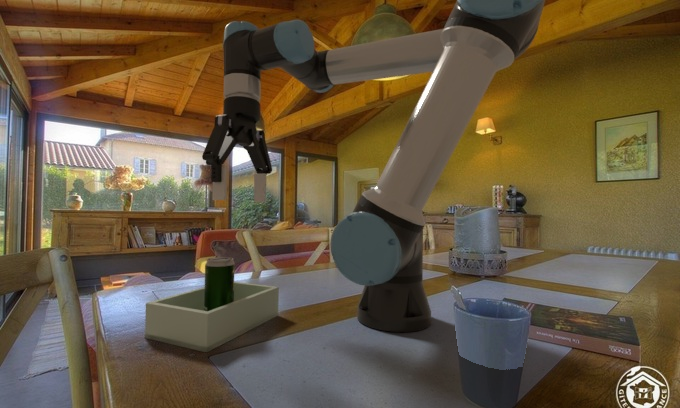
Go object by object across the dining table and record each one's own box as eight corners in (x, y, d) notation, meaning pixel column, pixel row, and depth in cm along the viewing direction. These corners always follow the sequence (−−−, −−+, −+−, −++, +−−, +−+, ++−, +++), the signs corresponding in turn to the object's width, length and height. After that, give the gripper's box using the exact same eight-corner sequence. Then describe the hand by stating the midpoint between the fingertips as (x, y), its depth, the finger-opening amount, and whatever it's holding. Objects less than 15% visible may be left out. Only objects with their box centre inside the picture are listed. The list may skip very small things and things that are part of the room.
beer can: (210, 328, 59) (212, 262, 60) (199, 320, 63) (200, 258, 63) (238, 321, 63) (239, 259, 63) (225, 314, 67) (227, 256, 67)
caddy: (278, 315, 70) (278, 287, 70) (206, 352, 51) (207, 314, 51) (226, 307, 75) (227, 280, 75) (144, 337, 57) (145, 303, 57)
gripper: (260, 118, 82) (259, 203, 81) (181, 80, 59) (180, 199, 58) (286, 115, 80) (286, 202, 79) (215, 74, 56) (214, 198, 55)
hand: (241, 201), depth 68 cm, fingers open, 13 cm apart
